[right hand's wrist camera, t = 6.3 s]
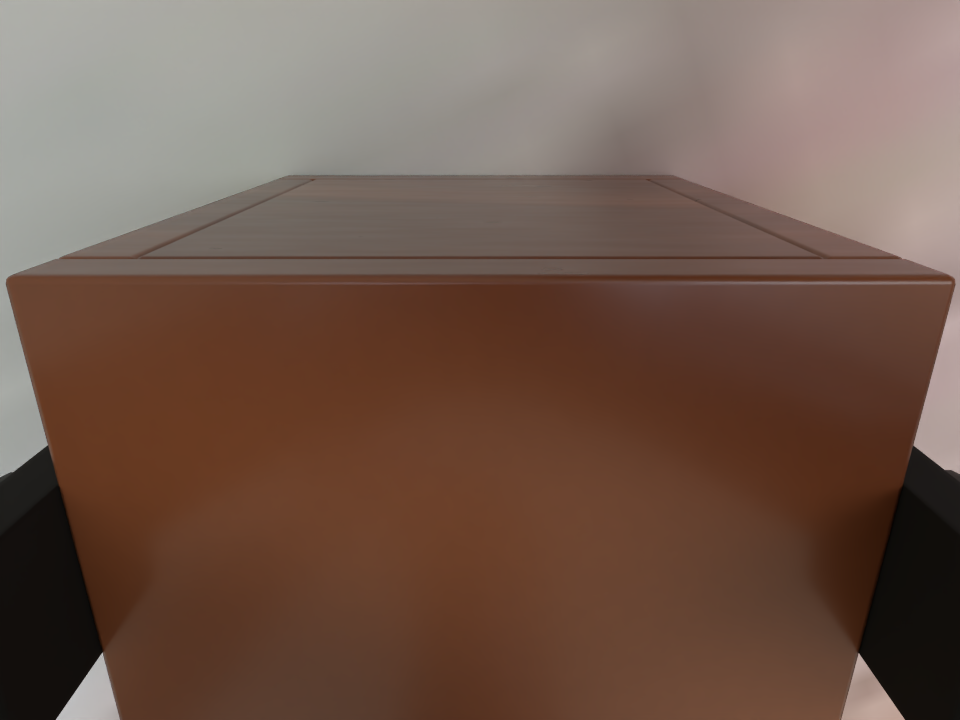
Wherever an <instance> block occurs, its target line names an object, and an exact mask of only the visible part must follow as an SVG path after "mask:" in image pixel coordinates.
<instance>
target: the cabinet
mask: <svg viewBox="0 0 960 720" xmlns="http://www.w3.org/2000/svg"><path fill="white" fill-rule="evenodd" d="M6 287H7V290H8V294H9V298H10V302H11V306H12V309H13V313H14V317H15V321H16V325H17V328H18V332H19V336H20V340H21V344H22V347H23V351H24V355H25V359H26V363H27V367H28V370H29V374H30V378H31V382H32V386H33V389H34V393H35V397H36V401H37V405H38V408H39V412H40V416H41V420H42V424H43V427H44V431H45V435H46V439H47V443H48V446H49V450H50V454H51V458H52V462H53V466H54V469H55V473H56V477H57V481H58V485H59V488H60V492H61V496H62V500H63V504H64V507H65V511H66V515H67V519H68V523H69V526H70V530H71V534H72V538H73V542H74V546H75V549H76V553H77V557H78V561H79V565H80V568H81V572H82V576H83V580H84V584H85V587H86V591H87V595H88V599H89V603H90V606H91V610H92V614H93V618H94V622H95V625H96V629H97V633H98V637H99V641H100V645H101V648H102V652H103V656H104V660H105V664H106V667H107V671H108V675H109V679H110V683H111V686H112V690H113V694H114V698H115V702H116V705H117V709H118V713H119V717H120V720H841V718H842V714H843V710H844V706H845V702H846V699H847V695H848V691H849V687H850V683H851V680H852V676H853V672H854V668H855V664H856V661H857V657H858V653H859V649H860V645H861V642H862V638H863V634H864V630H865V626H866V623H867V619H868V615H869V611H870V607H871V604H872V600H873V596H874V592H875V588H876V585H877V581H878V577H879V573H880V569H881V566H882V562H883V558H884V554H885V550H886V547H887V543H888V539H889V535H890V531H891V528H892V524H893V520H894V516H895V512H896V509H897V505H898V501H899V497H900V493H901V490H902V486H903V482H904V478H905V474H906V471H907V467H908V463H909V459H910V455H911V451H912V448H913V444H914V440H915V436H916V432H917V429H918V425H919V421H920V417H921V413H922V410H923V406H924V402H925V398H926V394H927V391H928V387H929V383H930V379H931V375H932V372H933V368H934V364H935V360H936V356H937V353H938V349H939V345H940V341H941V337H942V334H943V330H944V326H945V322H946V318H947V315H948V311H949V307H950V303H951V299H952V296H953V292H954V288H955V279H954V278H953V277H952V276H950V275H948V274H945V273H942V272H939V271H937V270H934V269H931V268H928V267H926V266H923V265H920V264H917V263H914V262H912V261H909V260H906V259H902V258H900V257H898V256H896V255H893V254H890V253H887V252H885V251H882V250H879V249H876V248H873V247H871V246H868V245H865V244H862V243H860V242H857V241H854V240H851V239H848V238H846V237H843V236H840V235H837V234H834V233H832V232H829V231H826V230H823V229H820V228H818V227H815V226H812V225H809V224H807V223H804V222H801V221H798V220H795V219H793V218H790V217H787V216H784V215H781V214H779V213H776V212H773V211H770V210H768V209H765V208H762V207H759V206H756V205H754V204H751V203H748V202H745V201H742V200H740V199H737V198H734V197H731V196H729V195H726V194H723V193H720V192H717V191H715V190H712V189H709V188H706V187H703V186H701V185H698V184H695V183H692V182H689V181H687V180H684V179H681V178H679V177H676V176H286V177H283V178H280V179H277V180H275V181H272V182H269V183H266V184H263V185H261V186H258V187H255V188H252V189H249V190H247V191H244V192H241V193H238V194H235V195H233V196H230V197H227V198H224V199H222V200H219V201H216V202H213V203H210V204H208V205H205V206H202V207H199V208H196V209H194V210H191V211H188V212H185V213H182V214H180V215H177V216H174V217H171V218H168V219H166V220H163V221H160V222H157V223H155V224H152V225H149V226H146V227H143V228H141V229H138V230H135V231H132V232H129V233H127V234H124V235H121V236H118V237H115V238H113V239H110V240H107V241H104V242H101V243H99V244H96V245H93V246H90V247H88V248H85V249H82V250H79V251H76V252H74V253H71V254H68V255H65V256H63V257H61V258H59V259H55V260H52V261H49V262H47V263H44V264H41V265H38V266H36V267H33V268H30V269H27V270H24V271H22V272H19V273H16V274H13V275H11V276H9V277H8V278H7V280H6Z"/></svg>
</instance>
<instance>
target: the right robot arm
mask: <svg viewBox="0 0 960 720" xmlns="http://www.w3.org/2000/svg"><path fill="white" fill-rule="evenodd" d="M101 653H102V648H101V645H100V641H99V637H98V633H97V629H96V625H95V622H94V618H93V614H92V610H91V606H90V603H89V599H88V595H87V591H86V587H85V584H84V580H83V576H82V572H81V568H80V565H79V561H78V557H77V553H76V549H75V546H74V542H73V538H72V534H71V530H70V526H69V523H68V519H67V515H66V511H65V507H64V504H63V500H62V496H61V492H60V488H59V485H58V481H57V477H56V473H55V469H54V466H53V462H52V458H51V454H50V450H49V446H46V447H45V448H44V449H43V450H41V451H40V452H39V453H37V454H36V455H35V456H34V457H32V458H31V459H30V460H29V461H27V462H26V463H25V464H23V465H22V466H21V467H20V468H18V469H17V470H16V471H14V472H10V473H8V474H6V475H4V476H2V477H0V720H56V718H57V717H58V715H59V714H60V713H61V711H62V710H63V708H64V707H65V705H66V704H67V702H68V701H69V700H70V698H71V697H72V695H73V694H74V692H75V691H76V690H77V688H78V687H79V685H80V684H81V682H82V681H83V679H84V678H85V677H86V675H87V674H88V672H89V671H90V669H91V668H92V666H93V665H94V664H95V662H96V661H97V659H98V658H99V656H100V655H101ZM859 654H860V655H861V657H862V658H863V660H864V661H865V662H866V664H867V665H868V667H869V668H870V670H871V671H872V673H873V674H874V675H875V677H876V678H877V680H878V681H879V683H880V684H881V686H882V687H883V688H884V690H885V691H886V693H887V694H888V696H889V697H890V699H891V700H892V701H893V703H894V704H895V706H896V707H897V709H898V710H899V712H900V713H901V714H902V716H903V717H904V719H905V720H960V474H958V473H956V472H954V471H952V470H944V469H943V468H941V467H940V466H939V465H937V464H936V463H935V462H934V461H932V460H931V459H930V458H928V457H927V456H926V455H925V454H923V453H922V452H921V451H920V450H918V449H917V448H916V447H914V446H913V448H912V451H911V455H910V459H909V463H908V467H907V471H906V474H905V478H904V482H903V486H902V490H901V493H900V497H899V501H898V505H897V509H896V512H895V516H894V520H893V524H892V528H891V531H890V535H889V539H888V543H887V547H886V550H885V554H884V558H883V562H882V566H881V569H880V573H879V577H878V581H877V585H876V588H875V592H874V596H873V600H872V604H871V607H870V611H869V615H868V619H867V623H866V626H865V630H864V634H863V638H862V642H861V645H860V649H859Z"/></svg>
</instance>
